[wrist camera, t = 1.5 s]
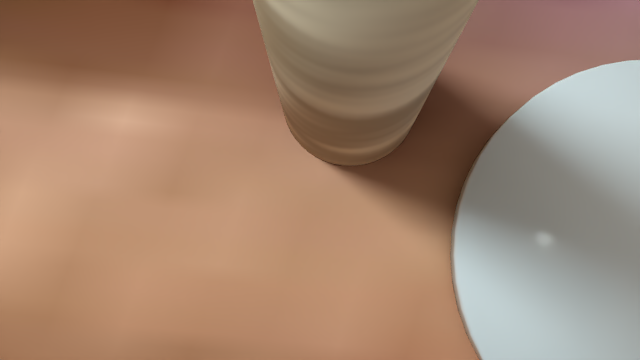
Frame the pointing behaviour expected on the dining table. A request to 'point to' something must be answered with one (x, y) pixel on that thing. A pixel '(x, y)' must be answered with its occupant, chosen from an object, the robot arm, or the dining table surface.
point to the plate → (555, 226)
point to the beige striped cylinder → (357, 68)
